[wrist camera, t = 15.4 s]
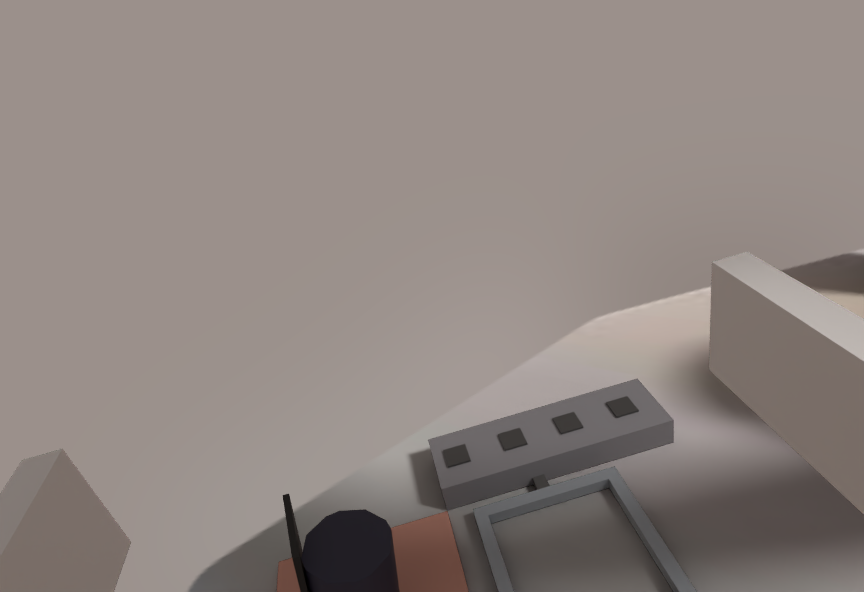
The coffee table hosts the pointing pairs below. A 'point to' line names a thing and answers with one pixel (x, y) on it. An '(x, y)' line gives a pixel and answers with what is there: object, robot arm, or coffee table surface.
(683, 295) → the coffee table surface
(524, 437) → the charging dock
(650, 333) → the coffee table surface
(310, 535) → the speaker
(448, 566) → the mat
